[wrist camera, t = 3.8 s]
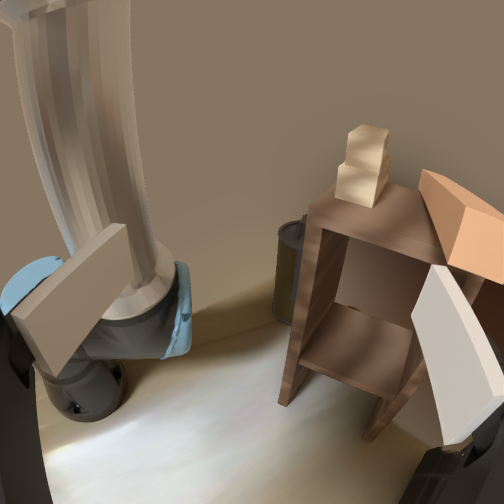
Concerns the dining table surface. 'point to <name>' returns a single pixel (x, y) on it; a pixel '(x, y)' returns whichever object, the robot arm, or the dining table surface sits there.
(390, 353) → the rack
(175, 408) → the dining table surface
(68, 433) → the dining table surface
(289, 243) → the canister
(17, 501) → the robot arm
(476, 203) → the batten
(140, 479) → the dining table surface
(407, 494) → the magazine
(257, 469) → the dining table surface
